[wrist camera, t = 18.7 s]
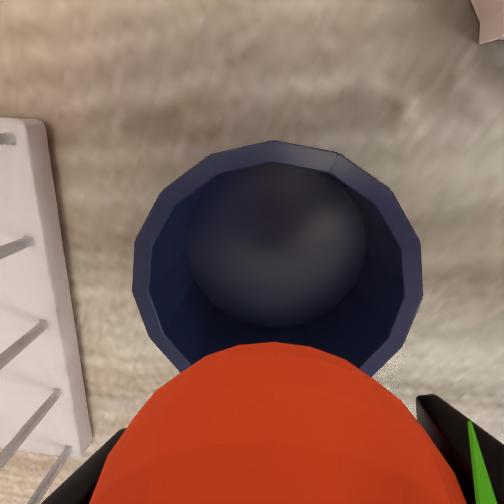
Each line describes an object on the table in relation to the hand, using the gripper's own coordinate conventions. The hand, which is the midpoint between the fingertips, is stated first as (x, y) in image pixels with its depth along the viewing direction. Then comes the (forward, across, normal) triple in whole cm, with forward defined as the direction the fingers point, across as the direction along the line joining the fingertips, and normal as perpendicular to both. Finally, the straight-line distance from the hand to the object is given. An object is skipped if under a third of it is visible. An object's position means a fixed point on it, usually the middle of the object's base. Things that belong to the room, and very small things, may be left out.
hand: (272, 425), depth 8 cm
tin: (+13, 0, 0) cm, 13 cm away
